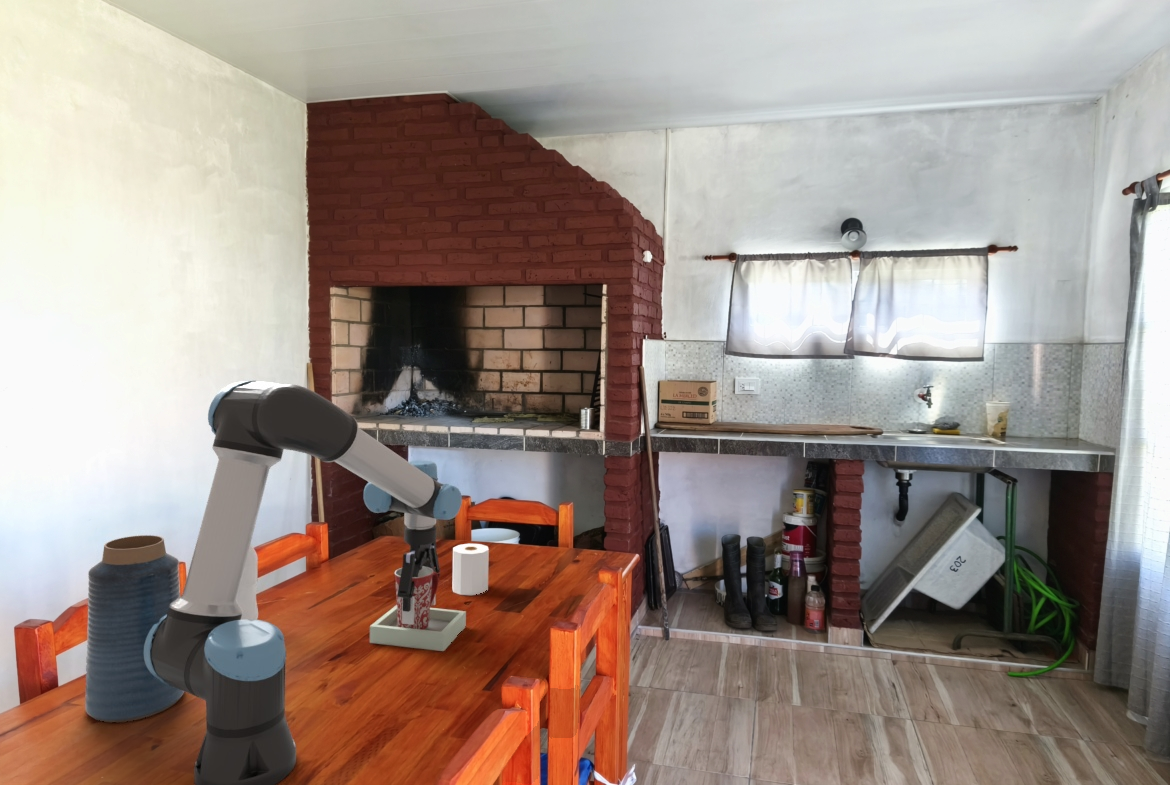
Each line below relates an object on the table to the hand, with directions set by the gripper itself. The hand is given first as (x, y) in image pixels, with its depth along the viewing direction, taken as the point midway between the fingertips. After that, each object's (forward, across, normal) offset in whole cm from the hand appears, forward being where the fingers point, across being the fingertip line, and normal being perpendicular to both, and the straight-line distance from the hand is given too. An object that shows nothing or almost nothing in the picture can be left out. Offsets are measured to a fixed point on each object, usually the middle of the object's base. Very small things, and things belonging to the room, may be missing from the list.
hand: (419, 613), depth 171 cm
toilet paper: (+5, +33, -1) cm, 34 cm away
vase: (+6, -43, +39) cm, 58 cm away
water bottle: (+5, -7, +43) cm, 44 cm away
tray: (+5, 0, 0) cm, 5 cm away
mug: (+3, 0, 0) cm, 3 cm away
